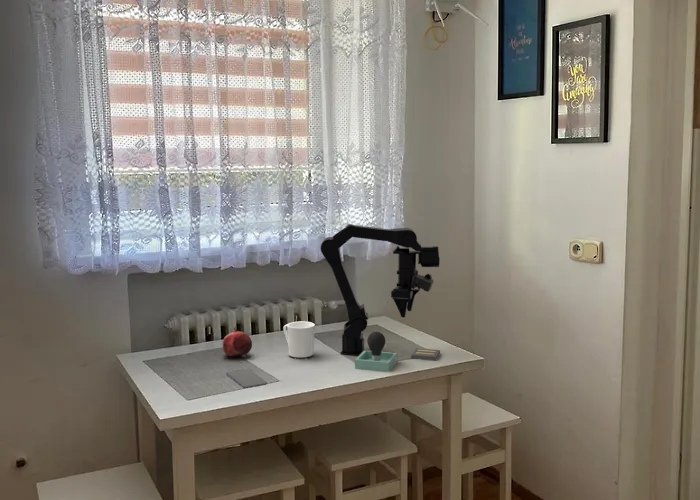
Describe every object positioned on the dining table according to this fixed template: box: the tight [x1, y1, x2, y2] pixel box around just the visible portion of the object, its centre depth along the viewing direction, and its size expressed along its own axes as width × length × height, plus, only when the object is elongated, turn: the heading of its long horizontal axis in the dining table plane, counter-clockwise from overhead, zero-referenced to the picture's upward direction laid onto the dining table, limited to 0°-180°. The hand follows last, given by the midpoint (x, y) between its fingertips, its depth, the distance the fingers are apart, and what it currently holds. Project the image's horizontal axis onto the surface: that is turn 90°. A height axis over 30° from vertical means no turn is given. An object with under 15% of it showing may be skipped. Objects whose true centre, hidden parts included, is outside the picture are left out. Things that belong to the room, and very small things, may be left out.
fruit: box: [222, 325, 253, 358], centre depth 238 cm, size 9×10×10 cm
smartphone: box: [225, 368, 268, 389], centre depth 216 cm, size 8×1×15 cm
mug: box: [282, 320, 316, 360], centre depth 239 cm, size 11×9×10 cm
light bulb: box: [366, 331, 386, 361], centre depth 229 cm, size 6×6×10 cm
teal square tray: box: [354, 349, 398, 373], centre depth 229 cm, size 11×11×3 cm
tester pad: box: [410, 347, 441, 361], centre depth 239 cm, size 8×8×1 cm
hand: (406, 314), depth 241 cm, fingers open, 9 cm apart
